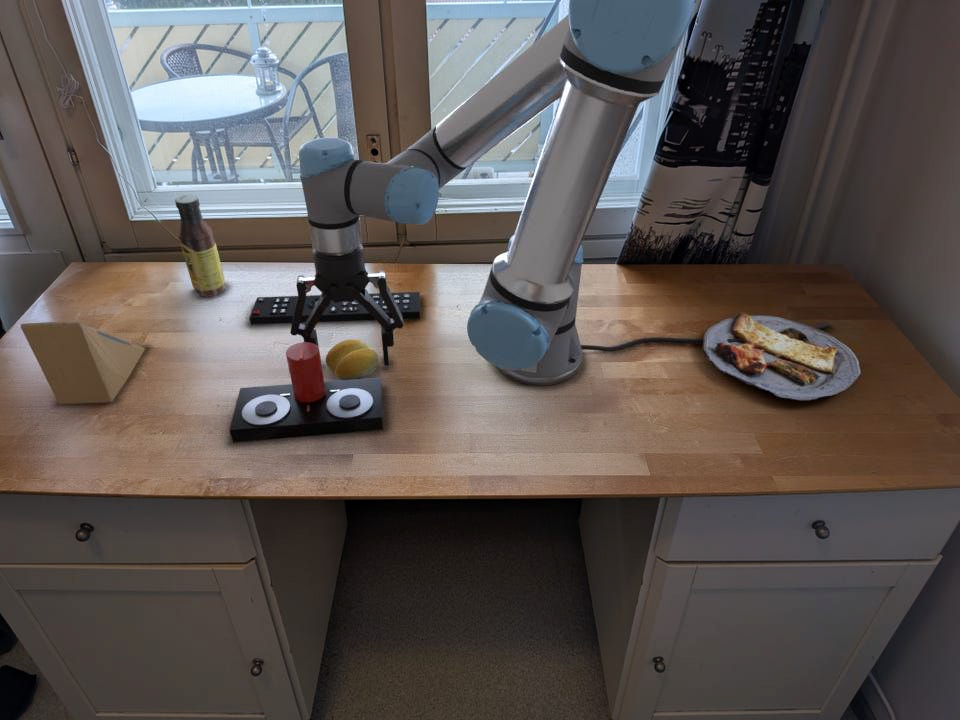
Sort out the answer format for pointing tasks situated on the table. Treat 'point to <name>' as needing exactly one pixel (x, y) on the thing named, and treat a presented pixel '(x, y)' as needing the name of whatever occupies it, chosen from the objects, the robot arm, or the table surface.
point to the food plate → (781, 356)
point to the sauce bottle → (199, 248)
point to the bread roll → (352, 360)
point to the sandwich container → (81, 360)
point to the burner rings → (278, 407)
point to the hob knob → (306, 372)
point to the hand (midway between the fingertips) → (352, 363)
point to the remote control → (329, 309)
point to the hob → (308, 413)
